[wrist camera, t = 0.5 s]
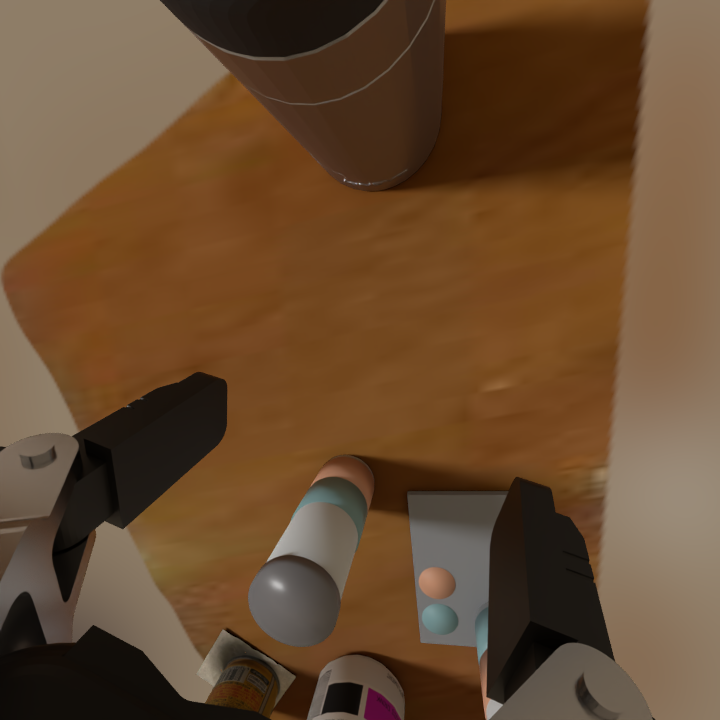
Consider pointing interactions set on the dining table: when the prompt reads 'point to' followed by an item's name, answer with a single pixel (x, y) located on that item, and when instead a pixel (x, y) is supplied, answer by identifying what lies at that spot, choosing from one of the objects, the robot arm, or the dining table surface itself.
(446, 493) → the slate card
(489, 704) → the twin tube
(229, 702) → the condiment
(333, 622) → the slim tube
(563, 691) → the robot arm
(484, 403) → the dining table surface
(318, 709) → the supplement can
